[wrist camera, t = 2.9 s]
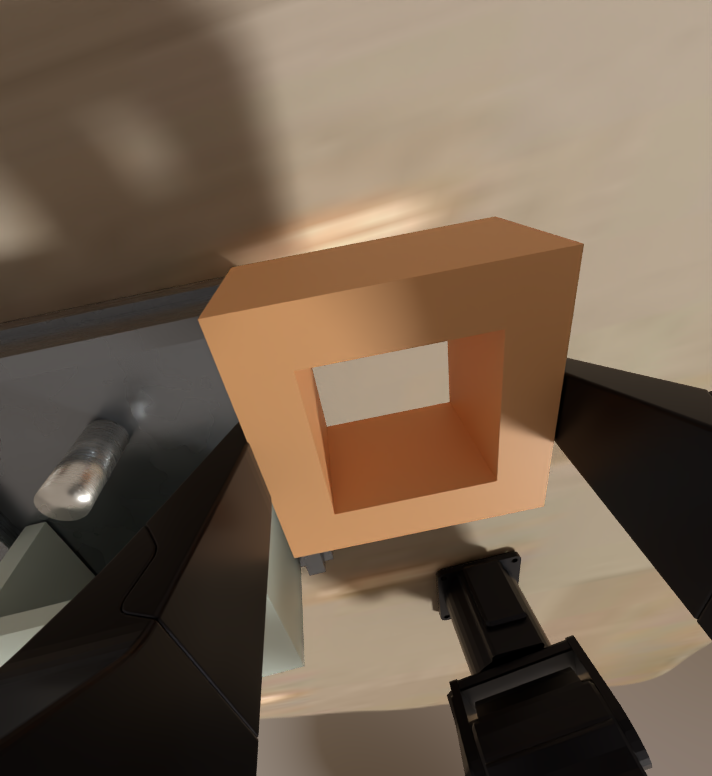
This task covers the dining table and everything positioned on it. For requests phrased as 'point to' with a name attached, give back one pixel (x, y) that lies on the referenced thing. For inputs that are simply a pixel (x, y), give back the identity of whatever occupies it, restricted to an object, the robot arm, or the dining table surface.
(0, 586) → the housing cover
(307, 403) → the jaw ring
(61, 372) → the housing base
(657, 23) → the dining table surface
